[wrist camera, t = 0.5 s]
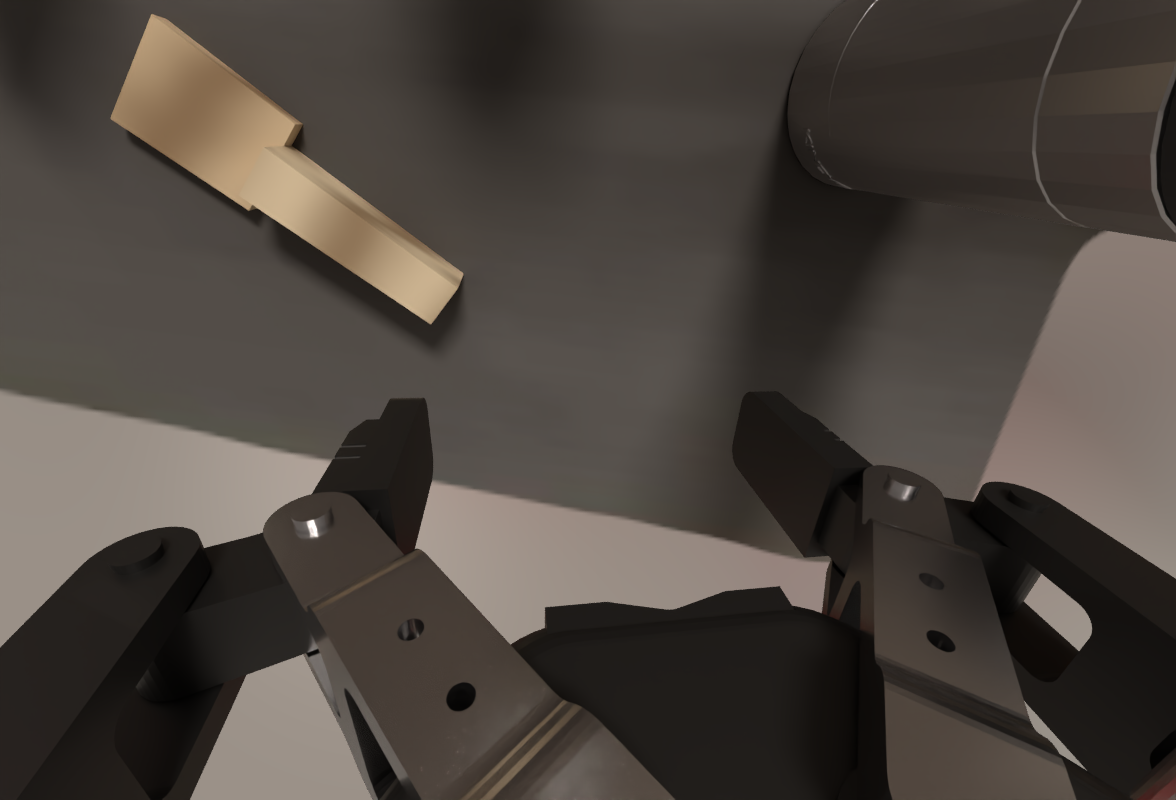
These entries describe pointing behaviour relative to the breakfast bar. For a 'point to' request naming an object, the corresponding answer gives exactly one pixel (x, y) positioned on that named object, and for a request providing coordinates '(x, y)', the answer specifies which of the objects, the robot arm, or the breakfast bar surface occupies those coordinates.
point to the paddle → (269, 166)
